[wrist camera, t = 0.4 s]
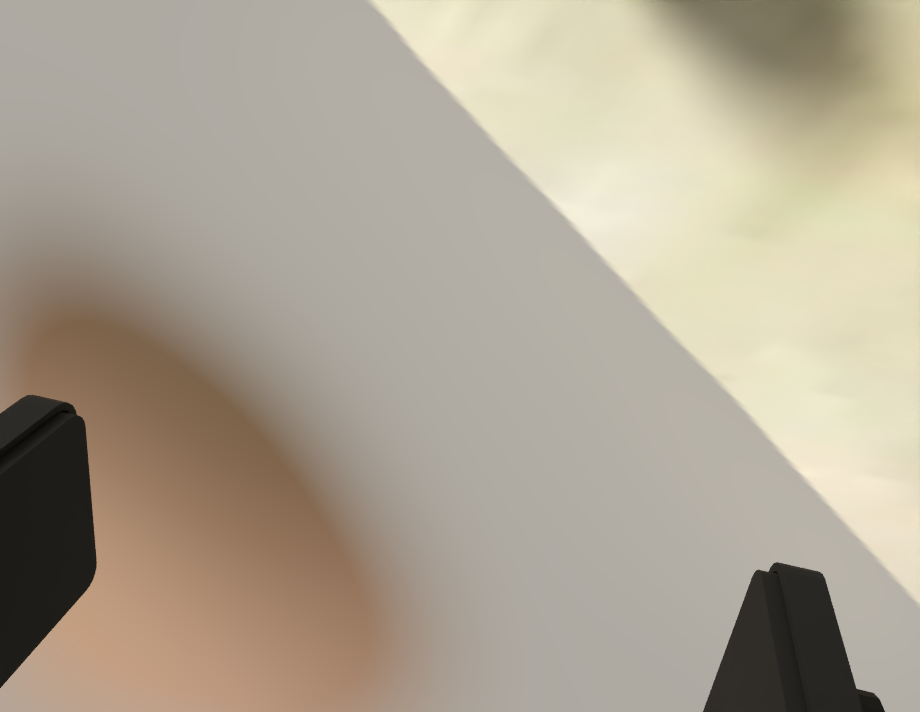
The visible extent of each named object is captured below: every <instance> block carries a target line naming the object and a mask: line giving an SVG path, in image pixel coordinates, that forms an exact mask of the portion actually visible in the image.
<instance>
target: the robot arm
mask: <svg viewBox="0 0 920 712" xmlns="http://www.w3.org/2000/svg"><path fill="white" fill-rule="evenodd" d="M92 514H93V513H92V501H91V490H90V476H89V465H88V453H87V441H86V428H85V422H84V420H83V418H82V417H80V416H78V415H76V410H75V409H74V407H73V405H71V404H69V403H67V402H62V401H58V400H53V399H49V398H44V397H40V396H35V395H27V396H25V397H23V398H21V399H20V400H19V401H17V402H16V403H14V404H13V405H12V406H10V407H9V408H7V409H6V410H5V411H3V412H2V413H1V414H0V688H1V687H2V686H3V684H4V683H5V682H6V681H7V680H8V679H9V678H10V676H11V675H12V674H13V673H14V672H15V671H16V670H17V669H18V667H19V666H20V665H21V664H22V663H23V662H24V661H25V659H26V658H27V657H28V656H29V655H30V654H31V652H32V651H33V650H34V649H35V648H36V647H37V646H38V645H39V644H40V642H41V641H42V640H43V639H44V638H45V637H46V636H47V634H48V633H49V632H50V631H51V630H52V629H53V628H54V626H55V625H56V624H57V623H58V622H59V621H60V620H61V618H62V617H63V616H64V615H65V614H66V613H67V612H68V611H69V609H70V608H71V607H72V606H73V605H74V604H75V603H76V601H77V600H78V599H79V598H80V597H81V596H82V595H83V594H84V592H85V591H86V590H87V589H88V587H89V586H90V584H91V582H92V580H93V578H94V575H95V571H96V549H95V537H94V526H93V515H92ZM703 712H885V711H884V709H883V706H882V704H881V702H880V700H879V698H878V697H877V696H876V695H875V694H874V693H871V692H867V691H863V690H859V689H856V686H855V683H854V679H853V675H852V672H851V669H850V665H849V661H848V658H847V654H846V651H845V647H844V644H843V641H842V637H841V634H840V630H839V626H838V623H837V620H836V616H835V612H834V609H833V605H832V602H831V598H830V595H829V591H828V588H827V584H826V581H825V578H824V576H823V574H821V573H820V572H818V571H813V570H809V569H804V568H800V567H796V566H791V565H787V564H782V563H778V562H777V563H774V564H773V565H772V566H771V568H770V570H769V572H766V571H761V570H756V572H755V573H754V575H753V577H752V579H751V582H750V585H749V587H748V590H747V593H746V596H745V599H744V601H743V604H742V607H741V609H740V612H739V615H738V618H737V620H736V623H735V626H734V628H733V631H732V634H731V637H730V639H729V642H728V645H727V648H726V650H725V653H724V656H723V659H722V661H721V664H720V667H719V670H718V672H717V675H716V678H715V680H714V683H713V686H712V689H711V691H710V695H709V697H708V700H707V702H706V705H705V708H704V711H703Z"/></svg>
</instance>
